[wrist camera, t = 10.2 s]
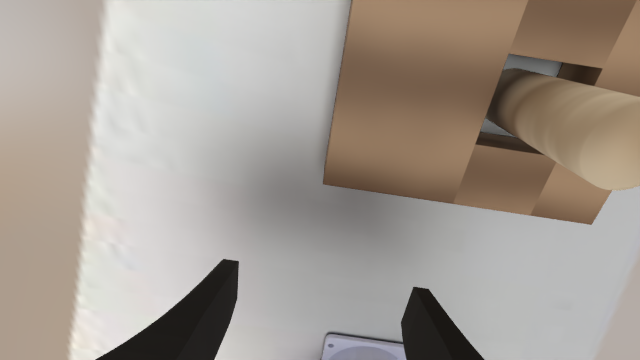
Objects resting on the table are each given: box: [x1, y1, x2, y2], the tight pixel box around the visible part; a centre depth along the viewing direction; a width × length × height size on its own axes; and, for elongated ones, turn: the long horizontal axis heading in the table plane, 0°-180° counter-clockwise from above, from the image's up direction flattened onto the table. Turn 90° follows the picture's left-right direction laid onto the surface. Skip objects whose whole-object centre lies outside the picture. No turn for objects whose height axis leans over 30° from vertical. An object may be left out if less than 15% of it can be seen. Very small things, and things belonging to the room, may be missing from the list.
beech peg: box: [485, 68, 640, 190], centre depth 15 cm, size 3×3×9 cm
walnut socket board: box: [323, 0, 640, 225], centre depth 18 cm, size 12×16×3 cm
